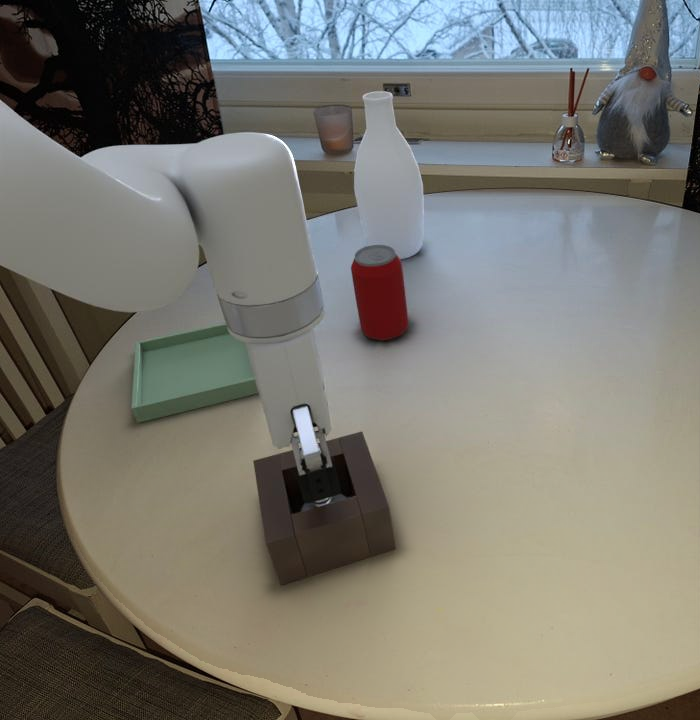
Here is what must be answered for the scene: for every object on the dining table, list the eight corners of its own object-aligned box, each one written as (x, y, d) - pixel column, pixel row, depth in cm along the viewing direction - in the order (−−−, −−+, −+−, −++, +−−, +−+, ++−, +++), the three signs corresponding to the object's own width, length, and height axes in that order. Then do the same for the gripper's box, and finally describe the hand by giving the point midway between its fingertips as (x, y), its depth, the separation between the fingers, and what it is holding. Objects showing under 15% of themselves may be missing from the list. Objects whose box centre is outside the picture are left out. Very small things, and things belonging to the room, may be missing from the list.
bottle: (378, 231, 122) (358, 83, 107) (437, 237, 119) (425, 86, 104) (352, 260, 113) (327, 104, 98) (415, 267, 111) (398, 107, 96)
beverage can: (392, 312, 100) (382, 237, 93) (418, 331, 95) (410, 254, 88) (352, 329, 96) (339, 253, 89) (378, 349, 92) (366, 271, 85)
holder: (280, 586, 62) (265, 543, 59) (266, 501, 70) (253, 460, 67) (396, 548, 65) (389, 506, 61) (369, 472, 73) (362, 431, 70)
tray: (137, 423, 81) (131, 408, 80) (141, 355, 93) (135, 341, 92) (266, 391, 85) (262, 377, 84) (254, 330, 97) (250, 316, 96)
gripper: (216, 262, 58) (261, 414, 68) (231, 375, 45) (285, 543, 55) (303, 245, 60) (335, 395, 70) (343, 349, 47) (375, 515, 57)
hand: (313, 460), depth 63 cm, fingers open, 9 cm apart
